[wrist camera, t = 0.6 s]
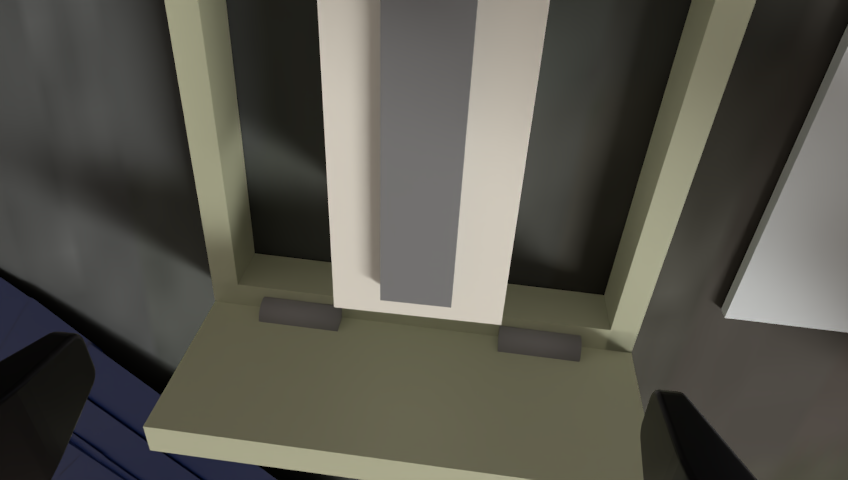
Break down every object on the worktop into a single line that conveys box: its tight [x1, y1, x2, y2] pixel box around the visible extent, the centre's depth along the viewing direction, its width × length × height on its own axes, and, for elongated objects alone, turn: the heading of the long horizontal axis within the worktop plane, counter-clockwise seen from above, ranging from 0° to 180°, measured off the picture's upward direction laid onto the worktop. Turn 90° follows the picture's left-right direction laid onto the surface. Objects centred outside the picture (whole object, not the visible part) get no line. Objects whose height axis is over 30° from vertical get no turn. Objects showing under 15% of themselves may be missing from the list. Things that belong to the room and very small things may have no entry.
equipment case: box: [143, 0, 756, 480], centre depth 17 cm, size 16×21×8 cm
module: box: [317, 0, 550, 325], centre depth 18 cm, size 5×12×7 cm, turn 178°
